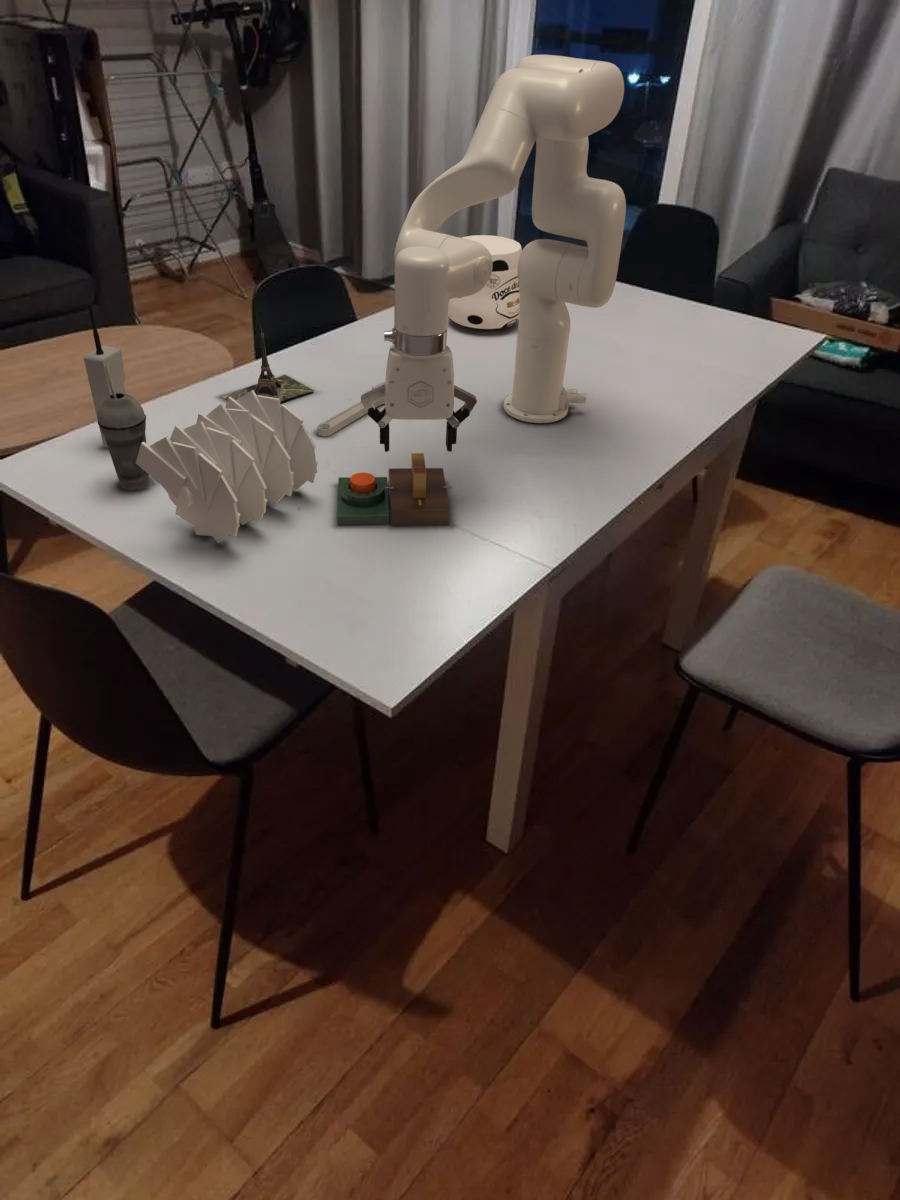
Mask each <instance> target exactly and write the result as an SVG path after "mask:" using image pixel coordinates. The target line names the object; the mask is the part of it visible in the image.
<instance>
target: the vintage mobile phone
mask: <svg viewBox="0 0 900 1200" xmlns="http://www.w3.org/2000/svg"><path fill="white" fill-rule="evenodd" d="M87 308H88V313H89V318H90V323H91V327H92V336H93V340H94V344H95V349H94V350H92V351H89V352H88V353H87V354H85V355H84V356H83V361H84V362H83V363H84V365H85V371H86V375H87V380H88V384H89V388H90V392H91V397H92V401H93V407H94V411H95V415H96V419H97V421H98V409H99V406H100V404H101V402H102V401H103V400H104V399H105V398H106V397H107V396H109V395H111V394H112V392H111V389H110V385H109V382H108V378H107V375H106V371H105V368H104V366H106V365H107V366H108V369H109V373H110V376H111V379H112V383H113V386H114V390H115V393H124V394H127V391H126V386H125V379H126V375H125V369H124V360H123V353H122V349H121V348H117V347H113V346H107V345H102V343H101V338H100V334H99V331H98V328H97V323H96V318H95V314H94V313H95V312H94V309H93V308H94V307H93V304H92V303H91V302H89V303H87ZM98 428H99V433H100V437H101V442H102V446H103V447H104V448H106V449H108V446H107V443H106V440H105V437H104V435H103V433H102V431H101V429H100V426H99V425H98Z"/></svg>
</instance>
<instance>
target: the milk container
mask: <svg viewBox="0 0 900 1200" xmlns="http://www.w3.org/2000/svg"><path fill="white" fill-rule="evenodd" d="M461 238H464V239H469V240H473V241H476V242H479V243H480V244H482V245H484V246H485V247H486V248H487V249H488V251H489V252H490V254H491V257H492V262H493V267H492V273H491V276H490V279H489V281H488V282H487V284H486V285H485V286H484V287H483V288H482V289H481V290H480V291H479V292H477V293H475V294H473V295H470V296H466V297H460V298H453V299H450V300H449V302H448V318H449V319H450V321H452V323H454V324H455V325H457V326H458V327H461V328H464V329H467V330H471V331H475V332H498V331H502V330H507V329H509V328H510V327H512V326H514V325H515V324H516V323H517V322H518V321H519V311H520V293H519V282H518V261H519V257H520V254H521V252H522V250H523V248H522V245H521V243H520V242H519V241H517V240H515V239H512V238H508V237H505V236H499V235H489V234H488V235H487V234H477V235H476V234H475V235H474V234H473V235H468V236H467V235H466V236H463V237H461Z"/></svg>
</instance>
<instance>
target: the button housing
mask: <svg viewBox="0 0 900 1200" xmlns="http://www.w3.org/2000/svg"><path fill="white" fill-rule="evenodd" d="M350 477H351V476H349V477H347V476H346V477H341V476H340V477H338V481H337V483H338V485H337V487H338V489H337V517H336V518H337V526H377V525H378V526H380V525H384V526H385V525H386V526H387V525H390V500H389V489H385V487H389V483H388V476H374V477H375V484H376V488H375V490H374V491H373V492H370V493H366V494H358V493H355V492H352V491H351V489H350Z"/></svg>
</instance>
